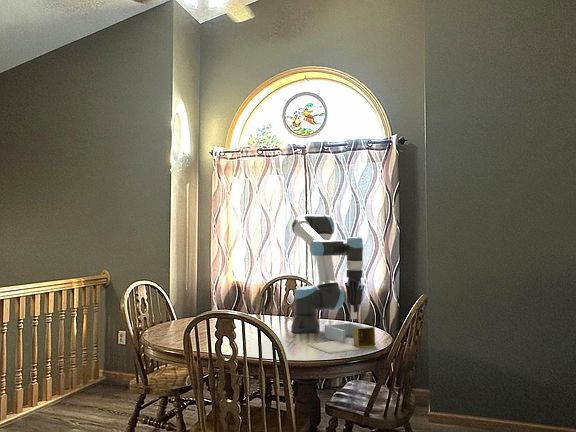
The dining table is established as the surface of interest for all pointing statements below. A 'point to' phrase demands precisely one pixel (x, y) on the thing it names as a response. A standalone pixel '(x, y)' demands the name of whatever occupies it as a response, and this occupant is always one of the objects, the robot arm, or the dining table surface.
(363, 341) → the flower pot
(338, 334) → the shelf bay
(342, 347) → the tile
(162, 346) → the dining table surface
